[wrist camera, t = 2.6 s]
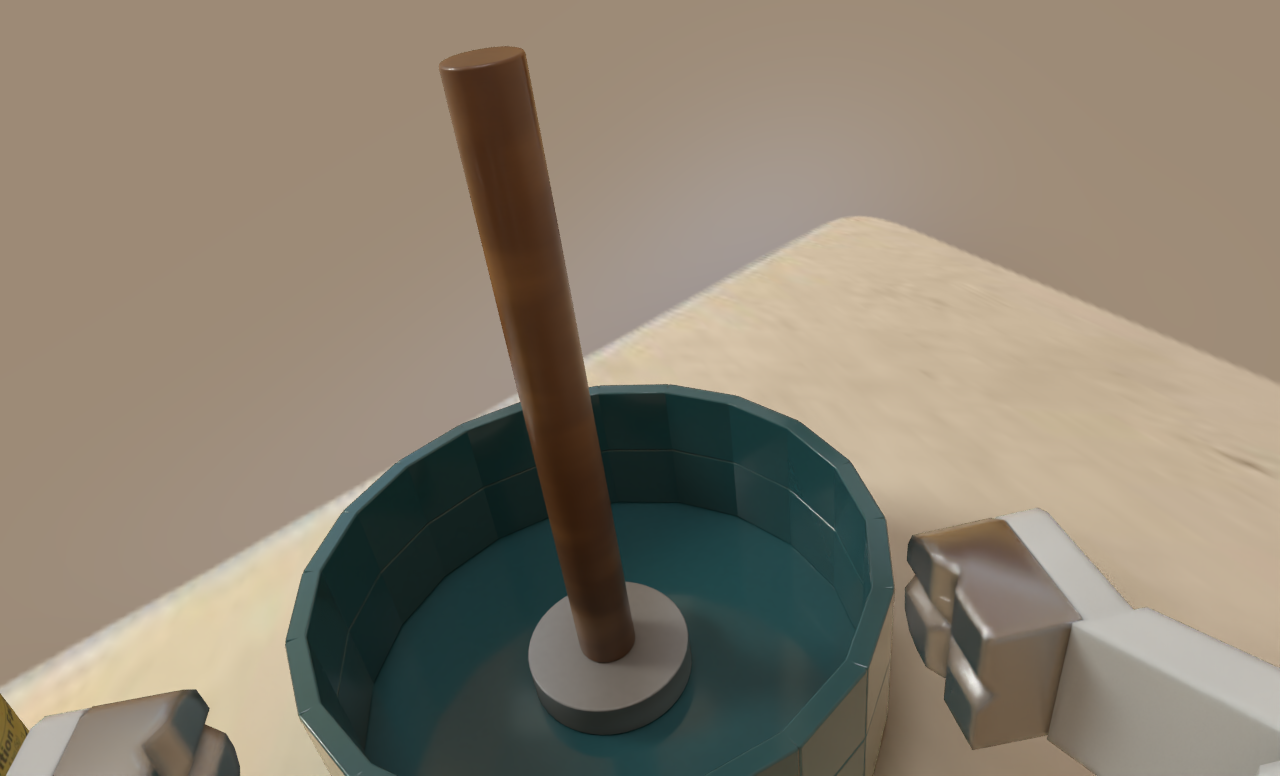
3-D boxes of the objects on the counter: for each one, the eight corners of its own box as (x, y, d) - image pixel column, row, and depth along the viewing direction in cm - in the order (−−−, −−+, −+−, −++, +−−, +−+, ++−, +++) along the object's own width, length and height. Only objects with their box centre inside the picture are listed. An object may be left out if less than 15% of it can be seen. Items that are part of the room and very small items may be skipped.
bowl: (312, 1041, 20) (213, 919, 17) (382, 551, 35) (336, 435, 32) (992, 879, 21) (1020, 736, 18) (787, 470, 36) (782, 349, 33)
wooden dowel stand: (539, 751, 25) (336, 108, 15) (531, 621, 30) (369, 52, 19) (707, 714, 26) (622, 60, 15) (675, 591, 30) (591, 16, 20)
